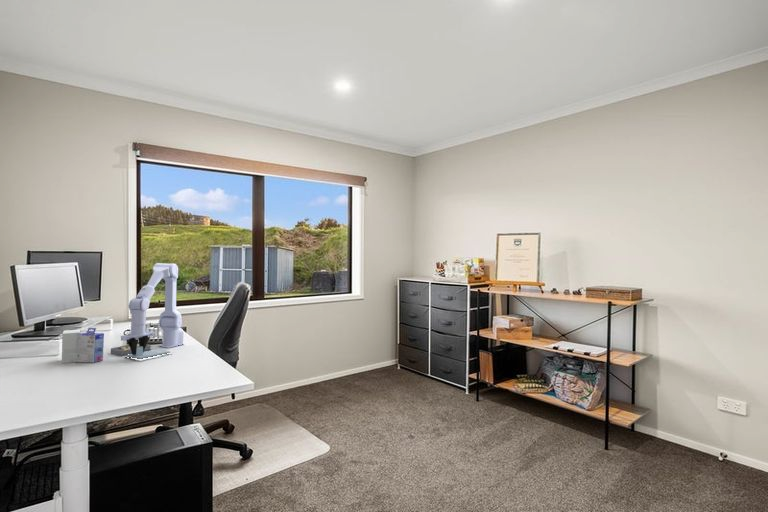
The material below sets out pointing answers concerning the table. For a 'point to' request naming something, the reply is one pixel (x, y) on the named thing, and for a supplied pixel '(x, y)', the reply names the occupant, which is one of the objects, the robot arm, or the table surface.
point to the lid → (147, 353)
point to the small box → (69, 345)
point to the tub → (126, 350)
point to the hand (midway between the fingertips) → (137, 353)
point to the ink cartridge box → (89, 346)
